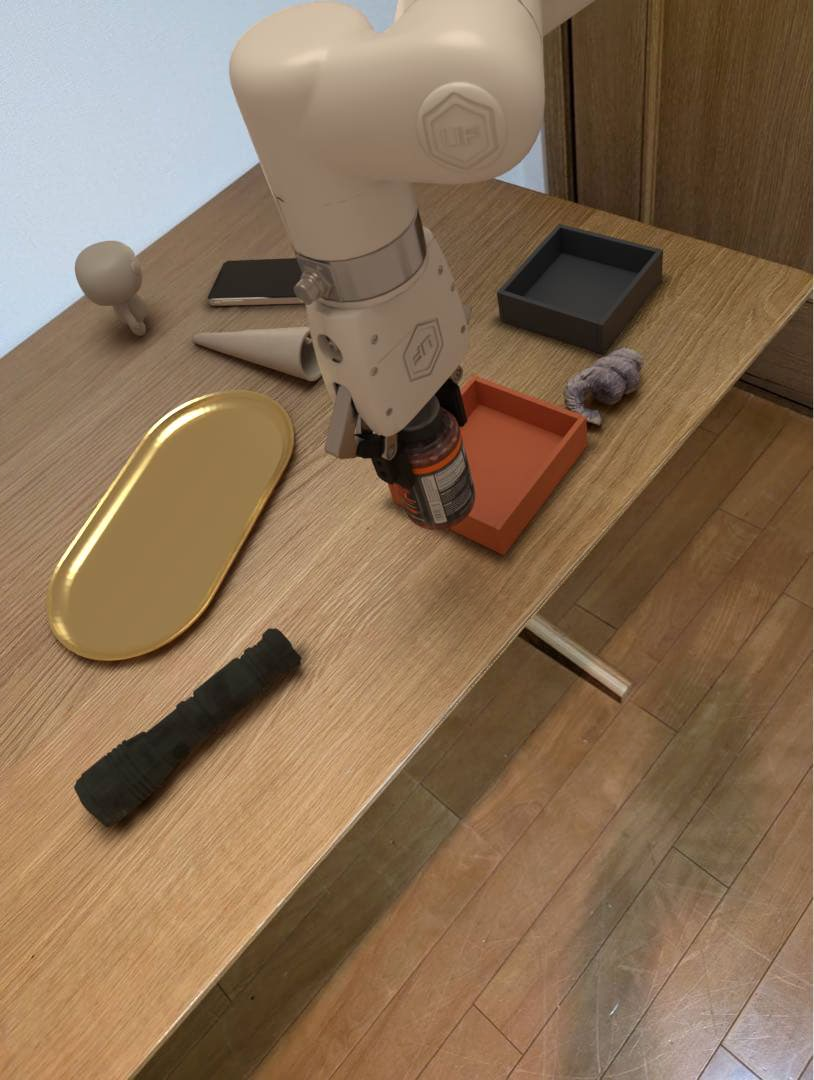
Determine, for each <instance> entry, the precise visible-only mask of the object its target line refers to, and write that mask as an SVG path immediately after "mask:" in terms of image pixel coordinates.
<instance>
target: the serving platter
mask: <svg viewBox="0 0 814 1080" xmlns="http://www.w3.org/2000/svg"><path fill="white" fill-rule="evenodd" d="M294 446H295V430H294V424H293V421H292V418H291V417H290V415H289V414H288V412H287V410H286V409H285V408H284V407H283V406H282V405H281V404H280V403H279V402H278V401H276V400H275V399H273V398H271V397H270V396H268V395H265V394H263V393H260V392H256V391H251V390H245V389H230V390H221V391H215V392H211V393H207V394H204V395H201V396H198V397H195V398H192V399H191V400H188V401H186V402H184V403H182V404H180V405H179V406H177V407H175V408H174V409H172V410H171V411H169V412H168V413H166V414H165V415H164V416H162V418H160V419H159V420H158V421H157V422H156V423H154V425H152V427H151V428H149V430H148V431H147V432H146V433H145V435H143V437H142V438H141V440H140V442H139V443H138V445H137V446H136V448H135V449H134V451H133V452H132V454H131V455H130V456H129V458H128V459H127V461H125V463H124V465H123V467H122V468H121V469H120V471H119V473H118V474H117V475H116V477H115V478H114V480H113V482H111V485H110V486H109V487H108V489H107V490H106V491H105V492H104V495H103V496H102V498H101V499H100V500H99V502H98V504H97V505H96V506H95V508H94V509H93V511H92V512H91V514H90V515H89V517H88V518H87V520H86V521H85V523H83V525H82V527H81V528H80V530H79V531H78V533H77V534H76V535H75V538H73V540H72V541H71V543H70V544H69V545H68V547H67V548H66V550H65V552H64V553H63V555H62V556H61V557H60V560H59V561H58V562H57V565H56V566H55V568H54V570H53V572H52V575H51V577H50V580H49V583H48V586H47V590H46V597H45V614H46V619H47V623H48V626H49V628H50V631H51V632H52V633H53V635H54V637H55V638H56V640H57V641H58V642H59V643H60V644H61V645H62V646H63V647H64V648H65V649H66V650H68V651H70V652H72V653H73V654H75V655H77V656H80V657H82V658H85V659H89V660H93V661H94V660H95V661H100V662H101V661H103V662H105V661H106V662H113V661H123V660H128V659H132V658H136V657H137V658H138V657H141V656H144V655H146V654H149V653H152V652H153V651H156V650H158V649H160V648H162V647H164V646H166V645H167V644H169V643H171V642H172V641H174V640H175V639H177V638H178V637H180V636H181V635H182V634H183V633H185V632H186V631H187V630H188V629H190V628H191V627H192V625H194V624H195V623H196V622H197V621H198V620H199V618H200V617H201V616H202V615H203V614H204V612H205V611H206V610H207V609H208V607H209V606H210V604H211V603H212V601H213V599H214V597H215V595H216V594H217V592H218V591H219V589H220V586H221V585H222V583H223V581H224V580H225V578H226V576H227V575H228V573H229V570H230V569H231V567H232V566H233V563H234V562H235V560H236V558H237V556H238V555H239V553H240V551H241V549H242V547H243V545H244V543H245V542H246V540H247V539H248V537H249V535H250V533H251V531H252V529H253V527H254V526H255V525H256V522H257V521H258V519H259V517H260V515H261V513H262V512H263V510H264V508H265V506H266V504H267V502H268V500H270V497H271V496H272V494H273V492H274V490H275V488H276V486H277V485H278V483H279V481H280V479H281V478H282V476H283V474H284V472H285V470H286V468H287V466H288V465H289V463H290V460H291V457H292V455H293V451H294Z"/></svg>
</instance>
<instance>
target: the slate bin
mask: <svg viewBox="0 0 814 1080" xmlns="http://www.w3.org/2000/svg"><path fill="white" fill-rule="evenodd" d="M663 263H664V249H662V248H657V247H653V246H649V245H645V244H642V243H637V242H633V241H629V240H626V239H622V238H617V237H614V236H610V235H606V234H602V233H599V232H595V231H590V230H586V229H582V228H579V227H575V226H570V225H567V224H562V223H558V224H557V225H556V226H555V227H554V228H553V230H551V231H550V233H549V234H548V235H547V236H546V237H545V238H544V239H543V240H542V241H541V243H540V244H539V245H538V246H537V247H536V248H535V249H534V250H533V252H531V253H530V255H529V256H528V257H527V258H526V259H525V260H524V261H523V262H522V263H521V265H520V266H519V267H518V268H517V269H516V270H515V271H514V272H513V273H512V275H511V276H509V278H508V279H507V280H506V281H505V282H504V283H503V284H502V286H501V287H500V288H499V289H498V290H497V291H496V297H497V305H498V311H499V313H498V314H499V319H500V322H504V323H506V324H508V325H512V326H515V327H518V328H522V329H524V330H527V331H530V332H533V333H536V334H540V335H543V336H545V337H549V338H552V339H555V340H558V341H561V342H563V343H567V344H570V345H572V346H576V347H578V348H582V349H585V350H588V351H591V352H595V353H598V354H601V355H604V354H605V352H606V351H607V350H608V348H609V347H610V346H611V345H612V344H613V342H614V341H615V340H616V339H617V338H618V336H619V335H620V334H621V332H622V331H623V330H624V329H625V328H626V327H627V325H628V324H629V322H630V321H631V320H632V319H633V317H634V316H635V315H636V313H637V312H638V311H639V310H640V309H641V307H642V306H643V305H644V303H646V301H647V300H648V298H649V297H650V296H651V294H652V293H653V292H654V291H655V290H656V288H658V286H659V284H660V283H661V282H662V281H663V267H664V266H663V265H664V264H663Z"/></svg>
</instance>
